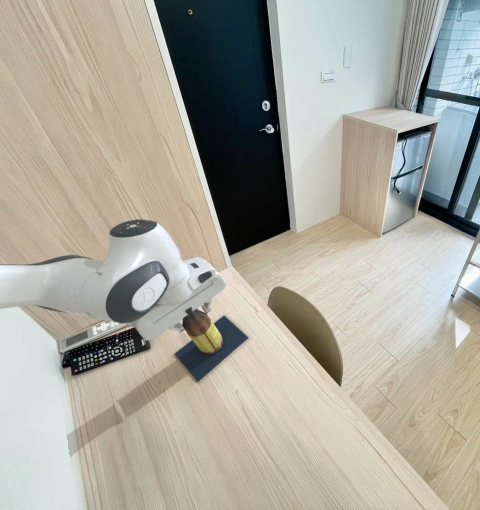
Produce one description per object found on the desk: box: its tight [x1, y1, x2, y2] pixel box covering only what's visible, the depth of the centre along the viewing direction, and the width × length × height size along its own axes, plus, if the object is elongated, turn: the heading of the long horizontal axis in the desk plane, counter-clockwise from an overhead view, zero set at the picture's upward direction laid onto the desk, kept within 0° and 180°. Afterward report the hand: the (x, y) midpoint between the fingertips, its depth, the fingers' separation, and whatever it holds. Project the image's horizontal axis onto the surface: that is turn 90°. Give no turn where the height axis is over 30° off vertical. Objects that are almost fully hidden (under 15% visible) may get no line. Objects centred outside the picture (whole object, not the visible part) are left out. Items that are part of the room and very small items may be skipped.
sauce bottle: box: [181, 307, 223, 354], centre depth 70 cm, size 6×6×20 cm
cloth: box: [174, 315, 249, 383], centre depth 77 cm, size 16×12×1 cm
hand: (194, 319), depth 68 cm, fingers closed on sauce bottle, 6 cm apart
